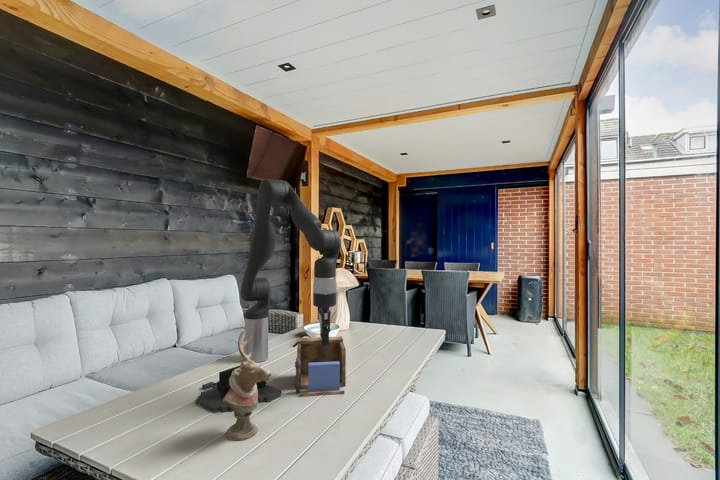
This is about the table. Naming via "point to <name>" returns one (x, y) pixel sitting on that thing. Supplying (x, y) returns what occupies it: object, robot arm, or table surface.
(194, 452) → the table surface
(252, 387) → the decorative bust
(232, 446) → the table surface
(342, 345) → the cabinet
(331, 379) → the blue rectangular block
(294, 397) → the table surface
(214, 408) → the abstract sculpture
